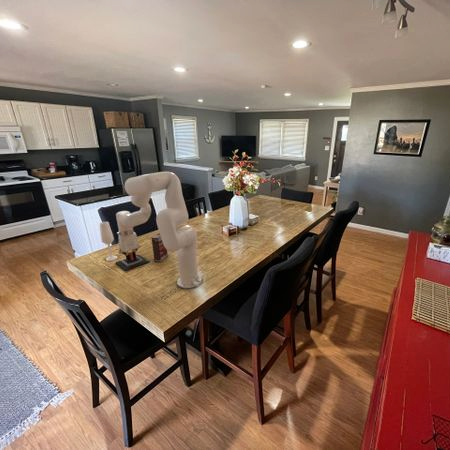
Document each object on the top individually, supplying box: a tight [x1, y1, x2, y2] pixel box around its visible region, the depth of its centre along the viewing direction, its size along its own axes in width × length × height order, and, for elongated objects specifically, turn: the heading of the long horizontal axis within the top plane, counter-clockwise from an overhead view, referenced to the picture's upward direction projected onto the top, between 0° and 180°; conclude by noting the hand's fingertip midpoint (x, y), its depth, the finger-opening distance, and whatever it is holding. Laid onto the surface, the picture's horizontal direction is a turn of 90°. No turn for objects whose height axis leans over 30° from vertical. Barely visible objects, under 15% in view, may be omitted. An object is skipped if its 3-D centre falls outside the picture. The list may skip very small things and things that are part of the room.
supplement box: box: [151, 232, 169, 263], centre depth 151 cm, size 9×5×16 cm, turn 168°
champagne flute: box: [99, 221, 118, 262], centre depth 149 cm, size 7×7×24 cm
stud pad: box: [125, 251, 139, 264], centre depth 146 cm, size 6×6×6 cm
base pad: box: [115, 254, 149, 272], centre depth 147 cm, size 14×14×2 cm
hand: (131, 259), depth 147 cm, fingers closed on stud pad, 2 cm apart
